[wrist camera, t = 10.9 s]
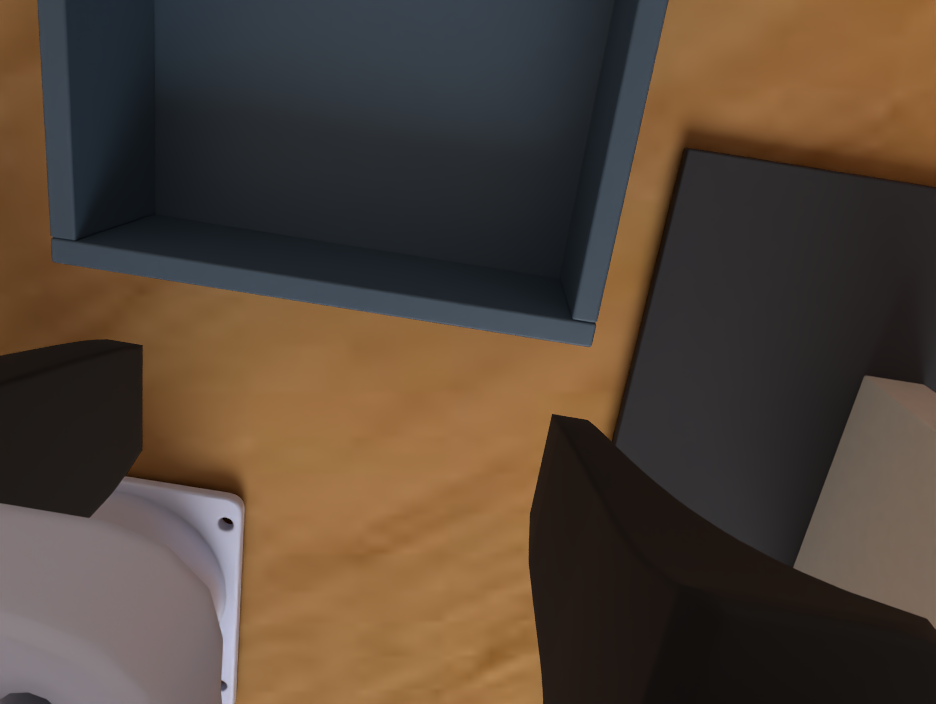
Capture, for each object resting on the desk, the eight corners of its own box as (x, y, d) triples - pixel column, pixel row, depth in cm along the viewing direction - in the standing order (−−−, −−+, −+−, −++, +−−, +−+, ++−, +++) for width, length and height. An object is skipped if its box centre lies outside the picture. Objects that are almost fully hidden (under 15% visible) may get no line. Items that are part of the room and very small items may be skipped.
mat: (948, 766, 26) (956, 778, 26) (547, 702, 26) (548, 713, 26) (1227, 233, 19) (1245, 236, 19) (683, 146, 19) (688, 148, 19)
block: (826, 628, 24) (946, 831, 17) (773, 620, 24) (873, 820, 17) (924, 384, 21) (1117, 518, 14) (863, 374, 21) (1029, 503, 14)
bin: (574, 296, 21) (591, 348, 17) (145, 228, 21) (51, 262, 17) (687, -250, 16) (752, -374, 12) (139, -338, 16) (7, -493, 12)
